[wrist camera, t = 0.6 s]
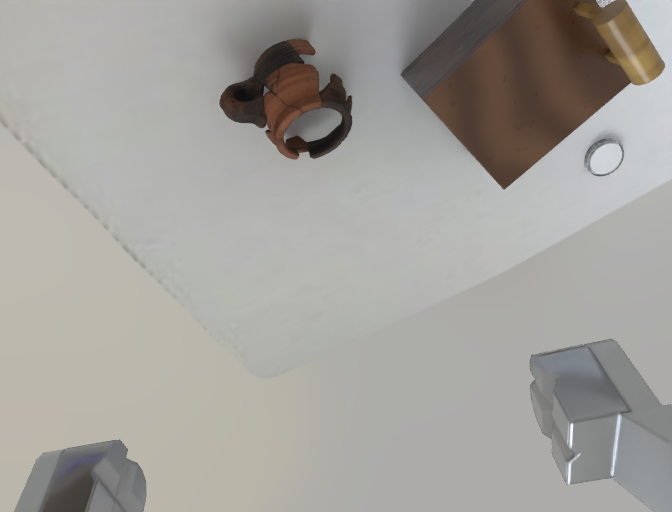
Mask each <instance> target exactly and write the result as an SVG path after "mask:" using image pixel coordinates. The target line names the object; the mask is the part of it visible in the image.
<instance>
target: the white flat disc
mask: <svg viewBox="0 0 672 512" xmlns="http://www.w3.org/2000/svg"><path fill="white" fill-rule="evenodd" d="M623 158H624V150H623V147H622V146H621V145H620V144H619V143H618V142H616V141H614V140H611V139H606V140H602V141H599V142H597V143H596V144H594V145H593V146H592V147H591V148H590V150H589V151H588V153H587V155H586V158H585V165H586V168H587V169H588V171H589V172H591V173H592V174H593V175H596V176H606V175H609V174H611V173H612V172H614V171H615V170H616V169H617V168H618V167H619V166H620V164H621V163H622V161H623Z"/></svg>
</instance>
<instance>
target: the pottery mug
mask: <svg viewBox="0 0 672 512" xmlns="http://www.w3.org/2000/svg"><path fill="white" fill-rule="evenodd" d="M301 54H306V55H314V54H315V49H314V47H312V46H311V45H310V44H309V42H308V41H306V40H301V39H293V40H287V41H282V42H280V43H278V44H275V45H273V46H272V47H270V48H269V49H267V50H266V51H265V52H264V53H263V54H262V55H261V56H260V58H259V59H258V61H257V63H256V65H255V70H254V75H253V77H251V78H249V79H248V80H246V81H243V82H239V83H235V84H232V85H230V86H229V87H227V88H226V90H225V91H224V92H223V94H222V95H221V99H220V107H221V108H222V109H223V111H224V113H225V114H226V116H227V117H228V118H230V119H231V120H233V121H235V122H239V123H253V124H255V125H256V126H258V127H260V128H264V127H265V126H266V123H267V125H268V128H269V129H270V130H266V131H265V132H266V135H267V136H268V138H269V139H270V140H271V141H272V143H273V144H275V145H276V146H277V148H278V150H279V152H280V153H281V154H283V155H284V156H286V157H287V158H291V159H297V158H298V157H299V153H302V152H308V151H309V153H310V157H311V158H313V159H314V158H318V157H321V156H324V155H325V154H327V153H329V152H331V151H332V150H334V149H335V148H337V147H338V146H339V145H340V144H341V142H342V141H344V139H345V138H346V137H347V135H348V133H349V131H350V130H351V126H352V116H351V114H350V113H351V108H352V96H351V95H350V96H348V99H347V101H346V91H345V89H344V87H343V83H342V80H341V78H340V77H338V76H337V75H336V74H331V76H330V82H329V83H328V85H327V86H326V87H325V88H324V89H323V90H322V91H320V92H319V74H318V71H317V70H316V68H315V67H313V66H312V65H308V64H304V61H303V60H302V58H301V57H300V56H299V55H301ZM264 86H266V87H267V88H268V89H269V90H270V91H269V92H267V93H266V94H265V95H264V96H263V93H264ZM321 107H323V108H331V109H334V110H336V111H338V112H339V113H340V114H341V115H342V122H341V124H340V125H339V126H337V127H336V128H335V129H334V130H333V131H332V132H331V133H330V134H329V135H327V136H326V137H324V138H322V139H319V140H315V141H311V142H305V141H304V140H303V139H302V138H300V137H299V136H294V137H291V138H288V139H286V144H285V143H284V137H283V136H284V133H285V131H286V129H287V128H288V126H289V125H290V124H291V123H292V122H293V121H294V120H295V119H296V118H297V117H299V116H300V115H301V114H303V113H305V112H308V111H310V110H313V109H318V108H321Z"/></svg>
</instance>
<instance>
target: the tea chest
mask: <svg viewBox="0 0 672 512" xmlns="http://www.w3.org/2000/svg"><path fill="white" fill-rule="evenodd" d="M522 1H523V0H476V1H475V2H474V3H473V4H472V5H471V6H470V7H469V8H468V9H467V10H466V11H465V12H464V13H463V14H462V15H461V16H460V17H459V18H458V19H457V20H456V21H455V22H453V23H452V24H451V25H450V26H449V27H448V28H447V29H446V30H445V31H444V32H443V33H442V34H441V35H440V36H439V37H438V38H437V39H436V40H435V41H434V42H433V43H432V44H431V45H430V46H429V47H428V48H427V49H426V50H425V51H424V52H423V53H422V54H421V55H420V56H419V57H418V58H417V59H416V60H415V61H414V62H413V63H412V64H411V65H410V66H409V67H408V68H407V69H406V70H405V71H404V72H403V73H402V74H401V76H402V77H403V78H404V80H405V81H406V82H407V83H408V84H409V85H410V86H411V87H412V89H413V90H414V91H415V92H416V93H417V94H418V95H419V96H420V98H421V99H422V97H423V96H424V95H425V94H426V93H427V92H428V91H429V90H430V89H431V88H432V87H433V86H434V85H435V84H436V83H438V82H439V81H440V80H441V79H442V78H443V77H444V76H445V75H446V74H447V73H448V72H449V71H450V70H451V69H452V68H453V67H454V66H455V65H456V64H457V63H458V62H459V61H461V60H462V59H463V58H464V57H465V56H466V55H467V54H468V53H469V52H470V51H471V50H472V49H473V48H474V47H475V46H476V45H477V44H478V43H479V42H480V41H481V40H482V39H484V38H485V37H486V36H487V35H488V34H489V33H490V32H491V31H492V30H493V29H494V28H495V27H496V26H497V25H498V24H499V23H500V22H501V21H502V20H503V19H504V18H505V17H507V16H508V15H509V14H510V13H511V12H512V11H513V10H514V9H515V8H516V7H517V6H518V5H519V4H520V3H521V2H522Z"/></svg>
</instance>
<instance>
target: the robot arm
mask: <svg viewBox="0 0 672 512" xmlns="http://www.w3.org/2000/svg"><path fill="white" fill-rule="evenodd" d="M530 371H531V373H532V375H533V377H534V379H535V380H534V381H533V382H532V383H531V385H530V391H531V400H532V405H533V410H534V413H535V416H536V419H537V421H538V424H539V426H540V428H541V431H542V433H543V434H545V435H546V436H548V437H549V438H551V439H552V455H553V457H554V459H555V462H556V464H557V466H558V468H559V470H560V472H561V474H562V477H563V479H564V481H565V483H566V485H570V484H576V483H582V482H589V481H595V480H601V479H608V478H614V481H616V482H617V483H618V484H619V485H621V486H622V487H623V488H625V489H626V490H627V491H628V492H630V493H631V494H632V495H634V496H635V497H636V498H637V499H639V500H640V501H641V502H642V503H644V504H645V505H646V506H647V507H649V508H650V509H651V510H652V511H654V512H672V405H671V404H670V405H663V406H662V405H661V403H660V402H659V400H658V399H657V397H656V396H655V395H654V393H653V392H652V390H651V389H650V388H649V386H648V385H647V383H646V382H645V381H644V379H643V378H642V376H641V375H640V373H639V372H638V371H637V369H636V368H635V366H634V365H633V364H632V362H631V361H630V359H629V358H628V357H627V355H626V354H625V352H624V351H623V350H622V348H621V347H620V345H619V344H618V343H617V342H616V341H615V340H613V339H608V340H603V341H598V342H593V343H589V344H584V345H582V344H581V345H577V346H572V347H567V348H563V349H558V350H553V351H549V352H544V353H539V354H535V355H532V356H531V358H530ZM127 451H128V449H127V448H126V446H125V445H124V444H123V443H122V441H121V440H112V441H107V442H101V443H95V444H89V445H84V446H78V447H73V448H67V449H62V450H57V451H51V452H46V453H43V454H42V455H41V456H40V457H39V458H38V459H37V460H36V462H35V464H34V466H33V469H32V471H31V473H30V476H29V478H28V480H27V483H26V485H25V487H24V490H23V492H22V494H21V497H20V499H19V501H18V504H17V506H16V509H15V511H14V512H143V510H144V506H145V501H146V480H145V477H144V474H143V471H142V469H141V468H140V466H139V465H138V463H136V462H134V461H131V460H129V459H127V458H126V455H127Z"/></svg>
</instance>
